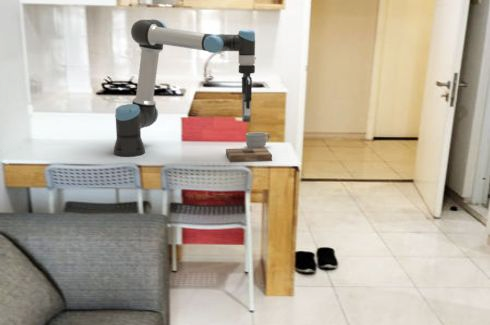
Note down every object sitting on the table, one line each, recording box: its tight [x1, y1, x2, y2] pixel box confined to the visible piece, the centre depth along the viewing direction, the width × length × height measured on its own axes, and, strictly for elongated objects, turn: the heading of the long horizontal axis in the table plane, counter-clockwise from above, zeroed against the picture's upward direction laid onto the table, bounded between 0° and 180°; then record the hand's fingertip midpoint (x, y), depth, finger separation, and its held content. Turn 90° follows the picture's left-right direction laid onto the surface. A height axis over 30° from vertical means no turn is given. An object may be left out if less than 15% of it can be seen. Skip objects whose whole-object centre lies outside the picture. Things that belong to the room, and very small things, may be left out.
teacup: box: [245, 131, 271, 148], centre depth 276 cm, size 14×11×8 cm
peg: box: [241, 93, 252, 123], centre depth 251 cm, size 4×4×13 cm
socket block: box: [225, 147, 273, 163], centre depth 257 cm, size 14×20×3 cm
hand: (246, 114), depth 252 cm, fingers closed on peg, 4 cm apart
